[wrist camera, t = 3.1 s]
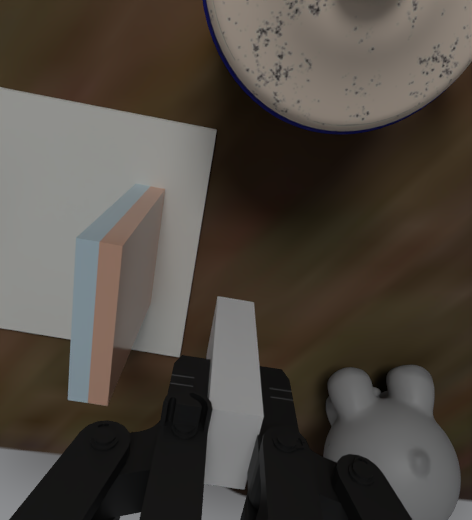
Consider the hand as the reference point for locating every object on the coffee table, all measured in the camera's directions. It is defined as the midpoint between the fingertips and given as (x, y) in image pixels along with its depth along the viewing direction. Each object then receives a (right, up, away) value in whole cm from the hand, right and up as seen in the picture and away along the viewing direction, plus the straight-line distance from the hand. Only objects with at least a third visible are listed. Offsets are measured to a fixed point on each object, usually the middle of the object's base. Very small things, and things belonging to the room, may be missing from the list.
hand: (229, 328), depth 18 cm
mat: (-11, +5, +7) cm, 14 cm away
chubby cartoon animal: (+9, -8, +12) cm, 17 cm away
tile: (-5, +4, +7) cm, 9 cm away
